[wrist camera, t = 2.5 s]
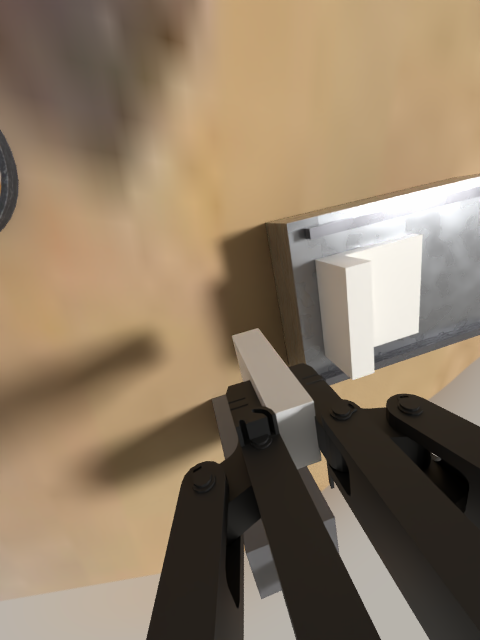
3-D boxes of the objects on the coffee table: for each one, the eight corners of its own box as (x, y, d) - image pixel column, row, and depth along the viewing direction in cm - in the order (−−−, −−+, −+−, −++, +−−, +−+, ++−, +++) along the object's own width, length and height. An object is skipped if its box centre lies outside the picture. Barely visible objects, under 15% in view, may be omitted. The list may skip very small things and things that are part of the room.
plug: (222, 433, 25) (277, 668, 12) (211, 399, 24) (261, 623, 11) (268, 418, 26) (369, 624, 13) (261, 383, 24) (366, 576, 11)
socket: (288, 364, 24) (314, 396, 20) (265, 222, 20) (292, 223, 15) (444, 314, 26) (498, 333, 22) (454, 177, 22) (525, 166, 18)
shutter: (325, 355, 20) (352, 380, 17) (315, 259, 17) (345, 267, 14) (409, 328, 21) (450, 347, 18) (412, 233, 18) (460, 236, 15)
